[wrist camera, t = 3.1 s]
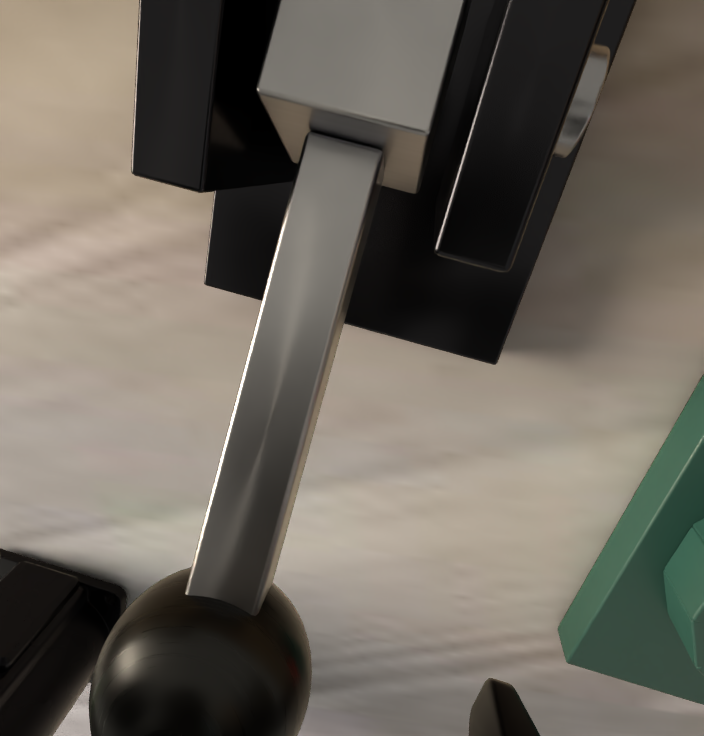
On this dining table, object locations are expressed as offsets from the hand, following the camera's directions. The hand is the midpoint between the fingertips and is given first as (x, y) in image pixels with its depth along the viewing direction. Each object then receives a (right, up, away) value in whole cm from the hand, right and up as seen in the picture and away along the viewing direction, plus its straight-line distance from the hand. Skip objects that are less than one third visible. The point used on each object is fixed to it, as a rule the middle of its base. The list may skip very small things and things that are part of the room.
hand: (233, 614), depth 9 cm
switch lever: (+1, +4, 0) cm, 4 cm away
